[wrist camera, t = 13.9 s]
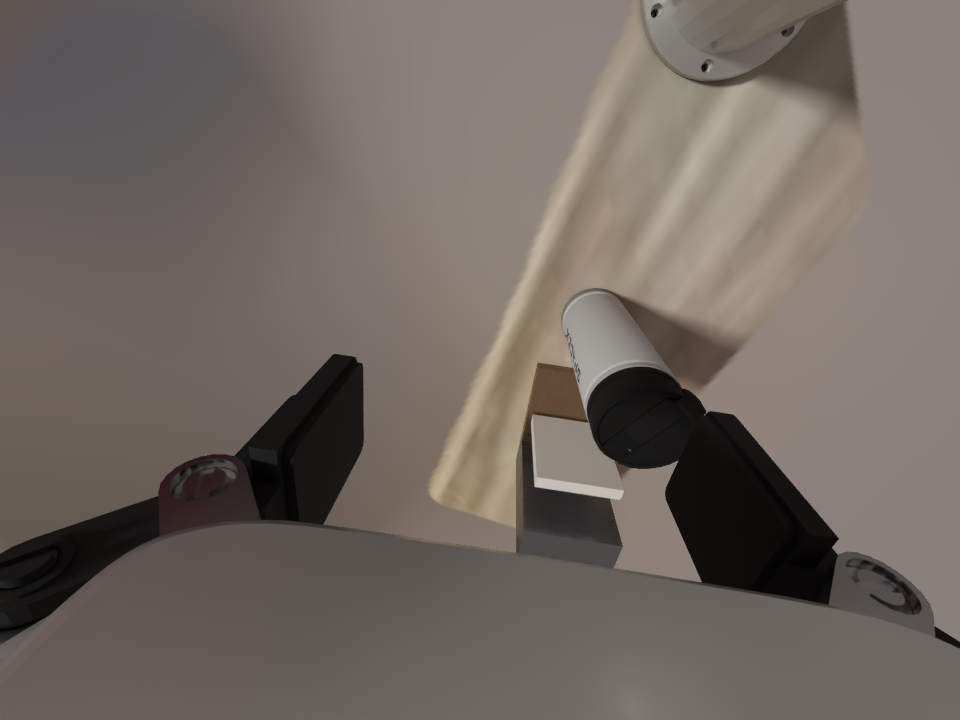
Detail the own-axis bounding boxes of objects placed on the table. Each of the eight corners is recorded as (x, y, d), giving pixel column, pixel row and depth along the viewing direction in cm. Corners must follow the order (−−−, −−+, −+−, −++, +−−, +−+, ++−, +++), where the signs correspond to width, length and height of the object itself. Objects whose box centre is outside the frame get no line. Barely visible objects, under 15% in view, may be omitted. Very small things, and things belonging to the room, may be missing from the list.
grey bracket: (537, 362, 44) (546, 444, 32) (619, 375, 44) (659, 461, 31) (516, 460, 50) (516, 559, 38) (586, 471, 50) (610, 574, 38)
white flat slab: (532, 414, 45) (536, 477, 36) (611, 426, 45) (635, 492, 36) (530, 422, 46) (534, 486, 37) (608, 434, 46) (631, 501, 37)
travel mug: (639, 312, 41) (734, 434, 23) (590, 355, 43) (641, 495, 25) (596, 272, 39) (662, 368, 21) (548, 319, 42) (571, 440, 24)
